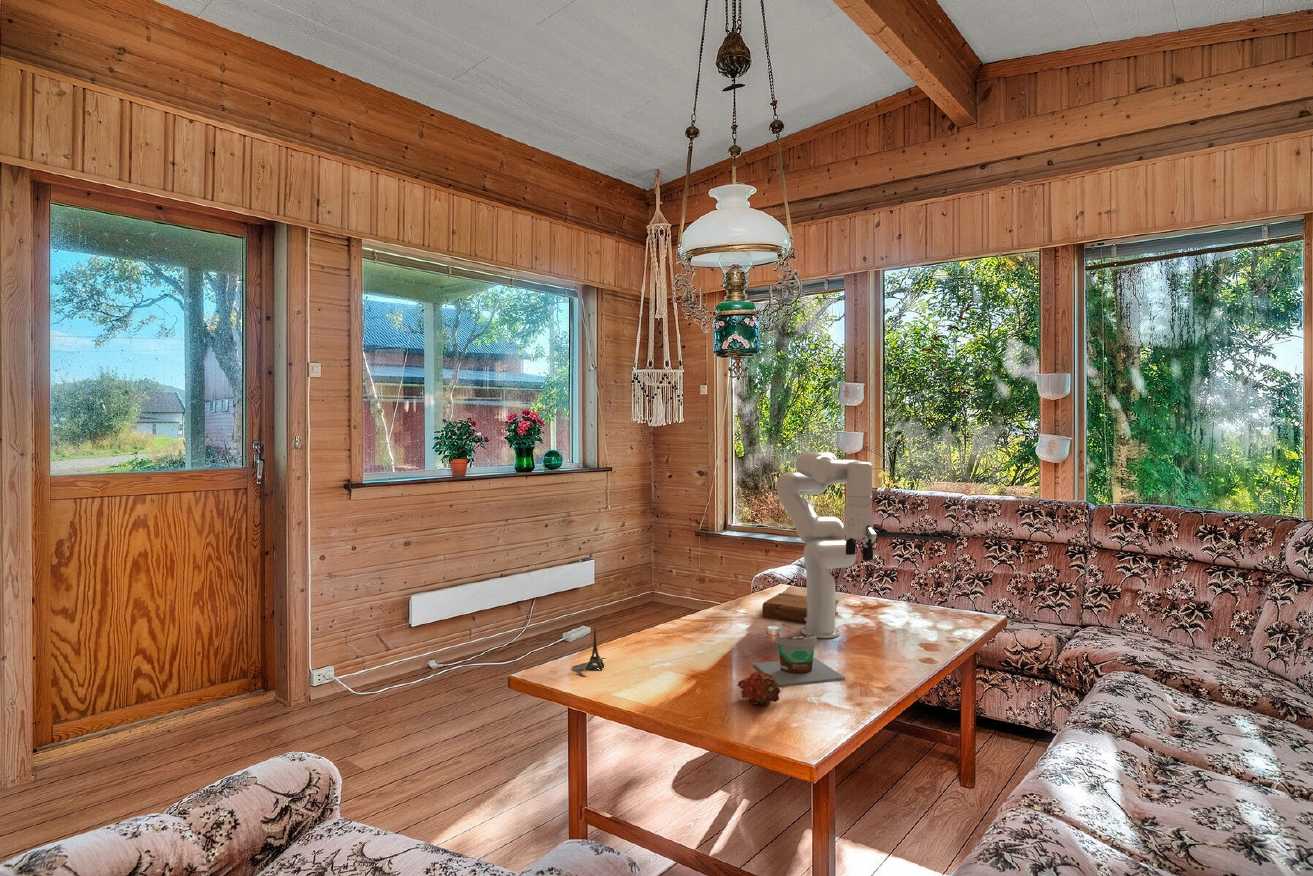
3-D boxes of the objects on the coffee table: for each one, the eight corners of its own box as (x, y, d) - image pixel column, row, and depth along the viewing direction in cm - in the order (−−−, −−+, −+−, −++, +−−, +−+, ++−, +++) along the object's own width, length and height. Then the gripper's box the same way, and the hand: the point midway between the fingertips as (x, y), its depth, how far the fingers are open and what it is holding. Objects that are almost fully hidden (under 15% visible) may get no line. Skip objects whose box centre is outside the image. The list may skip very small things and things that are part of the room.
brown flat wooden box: (762, 618, 270) (762, 603, 270) (780, 607, 287) (780, 593, 287) (823, 627, 259) (823, 610, 259) (838, 614, 275) (838, 599, 275)
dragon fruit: (781, 716, 183) (740, 711, 191) (791, 688, 189) (751, 684, 197) (767, 694, 180) (726, 690, 187) (778, 666, 186) (738, 663, 193)
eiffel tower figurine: (604, 659, 224) (603, 615, 224) (625, 667, 217) (625, 622, 216) (563, 670, 214) (563, 625, 214) (584, 679, 207) (584, 632, 206)
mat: (753, 665, 217) (753, 663, 217) (814, 659, 222) (814, 657, 222) (779, 686, 200) (779, 684, 200) (845, 679, 205) (845, 677, 205)
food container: (785, 677, 205) (785, 641, 205) (775, 670, 211) (775, 635, 211) (825, 673, 208) (825, 638, 208) (814, 666, 214) (814, 632, 214)
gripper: (834, 499, 233) (833, 553, 233) (863, 505, 216) (863, 563, 216) (855, 498, 235) (854, 551, 235) (886, 504, 218) (885, 561, 218)
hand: (859, 557), depth 226 cm, fingers open, 9 cm apart
